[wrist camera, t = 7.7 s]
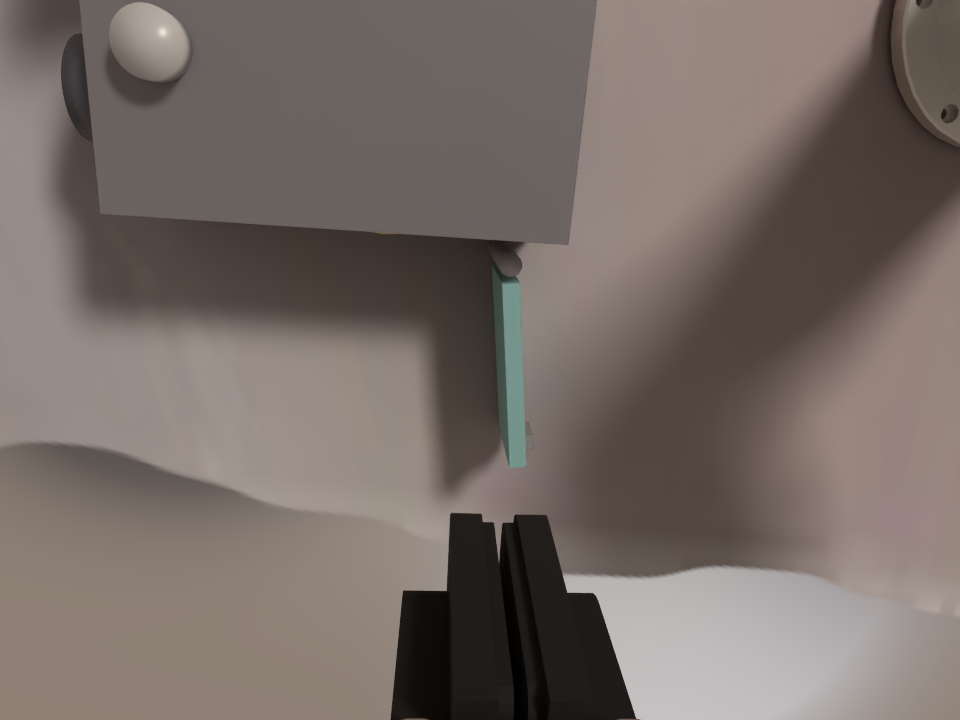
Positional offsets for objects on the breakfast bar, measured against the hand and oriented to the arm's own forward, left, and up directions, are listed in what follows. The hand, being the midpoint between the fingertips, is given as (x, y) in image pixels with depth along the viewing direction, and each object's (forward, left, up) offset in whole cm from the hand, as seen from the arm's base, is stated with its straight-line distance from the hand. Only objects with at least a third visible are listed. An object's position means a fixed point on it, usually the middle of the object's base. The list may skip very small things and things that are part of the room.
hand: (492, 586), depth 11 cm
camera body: (+5, -8, -24) cm, 26 cm away
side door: (-3, +2, -24) cm, 24 cm away
